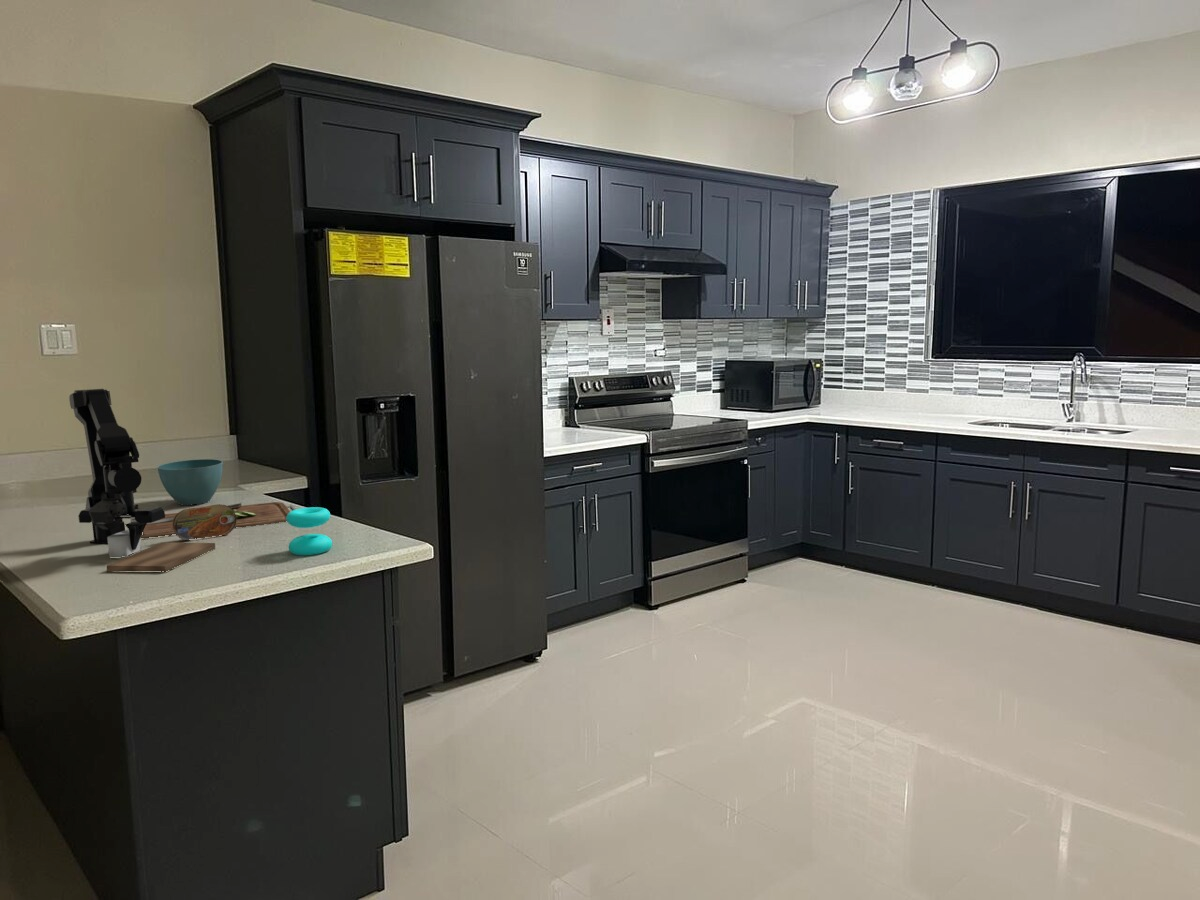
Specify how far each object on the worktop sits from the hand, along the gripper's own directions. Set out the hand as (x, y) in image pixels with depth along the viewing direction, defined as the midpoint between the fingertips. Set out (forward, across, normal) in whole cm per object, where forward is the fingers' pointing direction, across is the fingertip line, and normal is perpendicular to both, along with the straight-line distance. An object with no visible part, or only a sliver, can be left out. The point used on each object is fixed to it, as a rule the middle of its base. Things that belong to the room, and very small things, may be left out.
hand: (125, 549), depth 207 cm
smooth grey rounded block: (+1, 0, 0) cm, 1 cm away
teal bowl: (+1, -18, +58) cm, 61 cm away
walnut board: (+1, +13, -5) cm, 14 cm away
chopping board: (+2, +2, +34) cm, 35 cm away
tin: (+1, +11, +16) cm, 19 cm away
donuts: (+1, +45, +4) cm, 45 cm away
